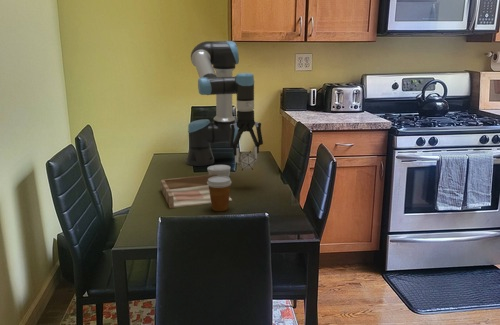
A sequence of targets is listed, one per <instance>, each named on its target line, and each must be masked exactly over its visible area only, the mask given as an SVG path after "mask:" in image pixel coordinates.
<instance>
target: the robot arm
mask: <svg viewBox="0 0 500 325" xmlns="http://www.w3.org/2000/svg"><path fill="white" fill-rule="evenodd" d="M239 60H240V54H239V49H238V45H237V44H236V42H235V41H234V40H233V41H232V40H215V41H214V40H213V41H212V40H210V41H209V40H207V41H206V40H205V41H202V42H200V43H198V44H197V45H196V46H194V47H193V49H192V51H191V53H190V62H191V64H192V65H193V67H195V69H196V71H197V74H198V77H199V78H198V79H197V89H198V94H200V95H201V96H212V95H213V96H214V95H215V102H216V103H215V106H216V107H215V108H216V109H215V110H216V111H215V113H216V115H215V116H214V117H213V121H210V119H207V118H205V119H198V120H193V121H191V122H189V123H188V125H187V126H188V127H187V132H188V153H187V156H186V164H187V165H188V166H192V167H203V166H209V165H210V166H211V165H213V164H214V163H215V157H214V155H213V151H212V148H211V147H212V146H211V144H221V143H222V144H224V143H226V144H228V147H230V148H232V154H233V156H234V162H236V163H237V164H238V163H239V156H240V153H239V148H238V146H239V143H240V140H241V137H242V135H243V133H244V132H245V133H246V132H248V133H249V134H250V137H251V139H252V141H253V144H254V145H253V147H252V151H253V152H252V154H253V155H252V156H253V157H254V159H257V160H255V162H258V154H259V153H260V151H259V150H260V146H261V145H263V144H264V141H263V134H262V123H261V122H259V121H257V122H256V120H255V77H254V74H253V73H251V72H250V73H249V72H243V73H241V72H239V73H237V74H236V75H234V76H233V71H234V70H235V69H236V65H238V64H239V63H240V61H239ZM233 95H236V118H235V116H233ZM254 126H255V129H256V134H257V136H256V134H255V131H254V129H253V128H254Z"/></svg>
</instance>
